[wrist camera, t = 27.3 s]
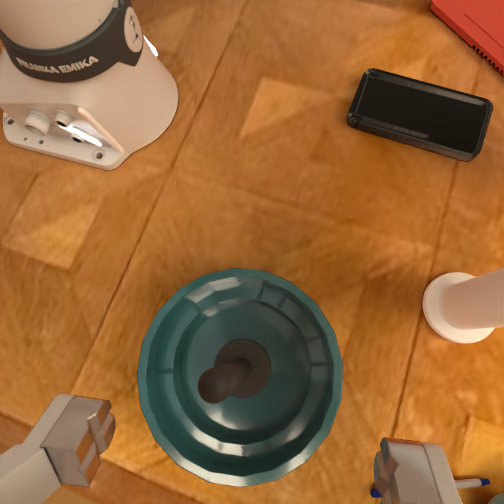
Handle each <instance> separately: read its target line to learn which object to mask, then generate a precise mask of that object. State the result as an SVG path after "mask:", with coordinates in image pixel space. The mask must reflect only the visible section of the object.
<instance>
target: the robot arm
mask: <svg viewBox="0 0 504 504" xmlns="http://www.w3.org/2000/svg"><path fill="white" fill-rule="evenodd" d="M0 37H1V40H2V42H3V45H4V48H3V50H2V53H1V55H0V107H1V109H2V110H3V111H4V113H3V129H4V133H5V136H6V139H7V140H8V141H9V142H10V143H11V144H12V145H14V146H17V147H20V148H24V149H28V150H32V151H36V152H39V153H43V154H47V155H51V156H55V157H58V158H62V159H66V160H70V161H73V162H77V163H81V164H85V165H89V166H92V167H96V168H100V169H104V170H113V169H115V168H117V167H118V166H119V165H120V164H121V163H123V161H124V160H125V159H126V158H127V157H128V156H129V155H130V154H131V153H133V152H135V151H136V150H138V149H140V148H142V147H144V146H146V145H148V144H150V143H151V142H153V141H154V140H155V139H157V138H158V137H159V136H160V135H161V134H162V133H163V132H164V131H165V130H166V129H167V127H168V126H169V125H170V123H171V121H172V120H173V118H174V115H175V113H176V110H177V106H178V89H177V85H176V82H175V80H174V78H173V76H172V75H171V73H170V72H169V71H168V70H167V69H166V68H165V67H164V66H163V64H162V63H161V62H160V61H159V59H158V58H157V57H156V56H157V55H158V54H157V51H156V49H155V48H154V47H153V46H152V45H151V43H150V42H149V41H148V40H147V39H146V38H145V37H144V36H143V33H142V30H141V27H140V24H139V21H138V18H137V16H136V13H135V11H134V8H133V6H132V4H131V2H130V0H0ZM100 156H102V158H101V159H99V157H100ZM110 409H111V404H110V401H109V400H105V399H98V398H91V397H83V396H78V395H71V394H63V393H60V394H58V395H57V396H56V397H55V398H54V399H53V400H52V402H51V403H50V405H49V406H48V407H47V409H46V410H45V412H44V413H43V414H42V416H41V417H40V419H39V420H38V422H37V423H36V424H35V426H34V427H33V429H32V430H31V431H30V433H29V434H28V436H27V437H26V439H25V440H24V441H23V443H22V444H21V445H20V444H16V445H14V446H13V447H11V448H10V449H8V450H7V451H5V452H4V453H2V454H1V455H0V504H42V502H44V501H45V500H46V499H47V498H48V497H49V496H50V495H51V494H52V493H53V492H55V491H56V490H57V489H58V488H59V487H60V486H61V484H69V485H77V486H84V487H89V486H90V484H91V482H92V480H93V478H94V476H95V474H96V472H97V470H98V468H99V466H100V464H101V462H100V456H99V455H100V454H101V453H103V452H104V451H105V450H106V449H108V447H109V445H110V443H111V441H112V438H113V435H114V431H115V418H114V415H112V414H111V413H110V412H109V411H110ZM380 446H381V451H379V452H377V453H376V456H375V460H374V480H375V486H376V489H377V491H378V492H379V493H380V495H381V496H382V500H381V502H380V504H462V501H461V498H460V495H459V492H458V489H457V486H456V484H455V481H454V478H453V475H452V472H451V469H450V466H449V464H448V461H447V458H446V455H445V452H444V450H443V448H442V447H441V446H440V445H438V444H433V443H425V442H419V441H412V440H403V439H395V438H386V437H384V438H383V439H382V441H381V443H380ZM60 483H61V484H60Z"/></svg>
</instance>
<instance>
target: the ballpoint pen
mask: <svg viewBox="0 0 504 504" xmlns="http://www.w3.org/2000/svg"><path fill="white" fill-rule="evenodd" d="M455 484H456V486H457V489H462V488H471V487H481V486H484V485H487V484H490V481H489V479H482V478H474V479H465V480H455ZM370 494H371V496H372V497H375V498H382V496H381V495H380V493H379V492H378V491H377V489H373V490H371V492H370Z"/></svg>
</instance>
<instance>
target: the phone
mask: <svg viewBox="0 0 504 504" xmlns="http://www.w3.org/2000/svg"><path fill="white" fill-rule="evenodd" d="M492 111H493V105H492V103H491V102H490V101H489V100H488V99H485V98H482V97H478V96H474V95H471V94H467V93H463V92H460V91H456V90H452V89H449V88H445V87H441V86H438V85H434V84H430V83H427V82H423V81H419V80H416V79H412V78H408V77H405V76H401V75H397V74H394V73H390V72H386V71H383V70H379V69H374V68H371V69H368V70H366V71H365V72H364V74H363V76H362V79H361V81H360V84H359V87H358V89H357V92H356V94H355V97H354V99H353V102H352V104H351V107H350V109H349V112H348V116H347V123H348V125H350V126H351V127H353V128H356V129H359V130H363V131H366V132H369V133H372V134H376V135H379V136H382V137H386V138H389V139H392V140H395V141H399V142H402V143H405V144H409V145H412V146H415V147H419V148H422V149H425V150H428V151H432V152H435V153H438V154H442V155H445V156H448V157H452V158H455V159H458V160H462V161H470V160H473V159H474V158H475V157H476V156H477V155H478V154H479V153H480V151H481V149H482V145H483V142H484V138H485V135H486V131H487V128H488V125H489V121H490V118H491V114H492Z"/></svg>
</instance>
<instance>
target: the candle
mask: <svg viewBox="0 0 504 504" xmlns="http://www.w3.org/2000/svg"><path fill="white" fill-rule="evenodd" d="M422 306H423V312H424V315H425V318H426V320H427V322H428V324H429V325H430V326H431V328H432V329H433V330H434V331H435V332H436V333H437V334H439V335H440V336H441V337H443V338H445V339H447V340H449V341H452V342H456V343H474V342H478V341H480V340H482V339H484V338H486V337H487V336H488V335H489V334H490V333H491V332H492V331H493V330H494V328H497V327H504V268H501V269H498V270H495V271H492V272H489V273H487V274H484V275H481V276H478V277H474V276H472V275H470V274H466V273H461V272H452V273H447V274H444V275H441V276H439V277H437V278H436V279H434V280H433V281H432V282H431V283H430V284H429V285H428V287H427V288H426V290H425V292H424V295H423V301H422Z"/></svg>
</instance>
